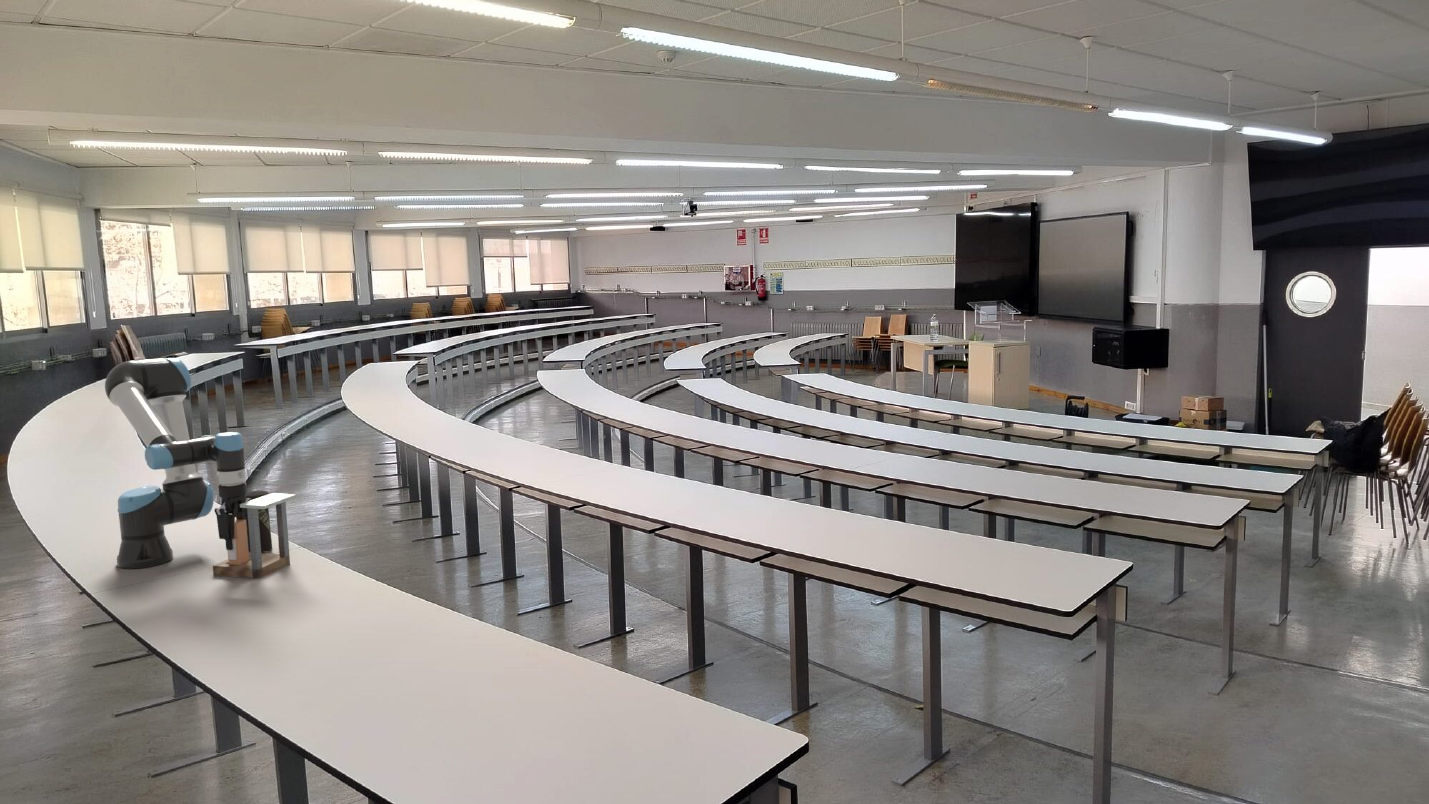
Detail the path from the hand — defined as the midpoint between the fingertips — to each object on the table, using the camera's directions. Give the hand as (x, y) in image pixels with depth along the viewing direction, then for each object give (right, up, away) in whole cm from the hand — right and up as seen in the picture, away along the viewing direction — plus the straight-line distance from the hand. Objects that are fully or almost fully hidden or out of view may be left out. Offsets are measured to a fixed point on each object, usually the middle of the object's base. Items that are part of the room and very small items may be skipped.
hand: (238, 556), depth 274 cm
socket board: (+3, -4, +2) cm, 6 cm away
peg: (0, -3, 0) cm, 3 cm away
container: (-5, -2, +21) cm, 22 cm away
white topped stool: (+11, -5, 0) cm, 12 cm away
